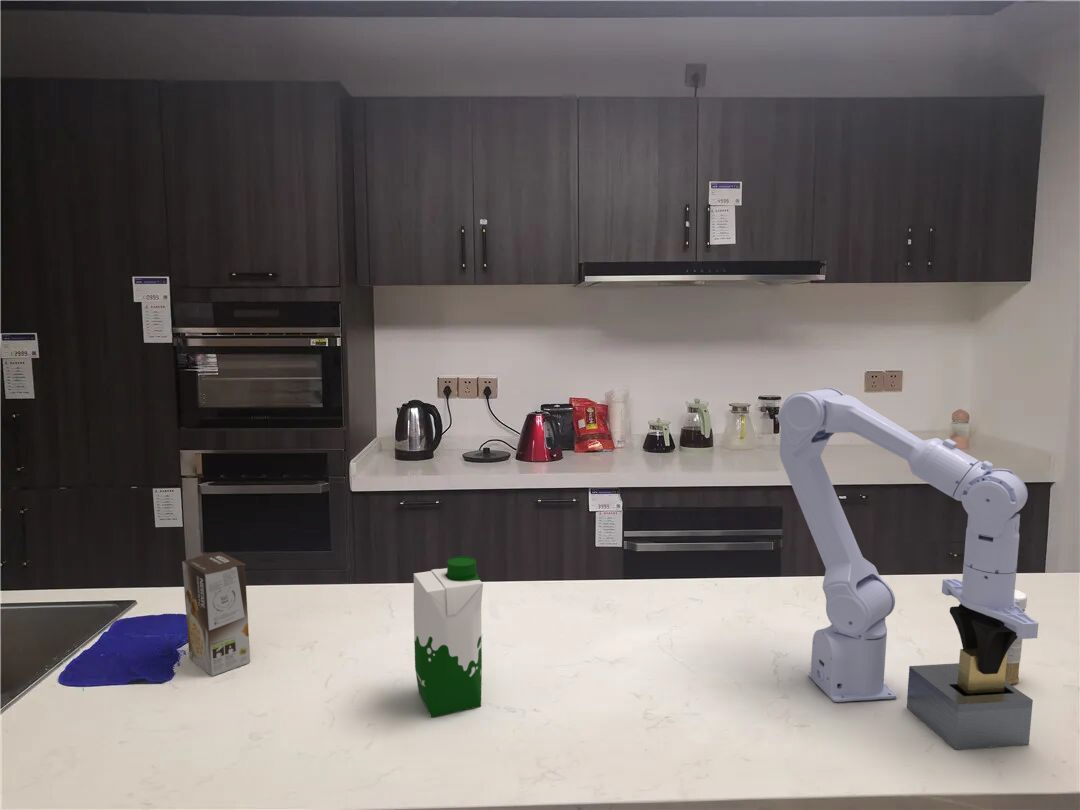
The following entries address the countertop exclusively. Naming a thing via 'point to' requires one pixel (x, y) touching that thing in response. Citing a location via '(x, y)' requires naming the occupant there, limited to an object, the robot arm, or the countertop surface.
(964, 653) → the block
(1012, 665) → the sprinkles bottle
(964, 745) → the box
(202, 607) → the coffee box
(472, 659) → the milk carton
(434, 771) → the countertop surface
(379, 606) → the countertop surface
